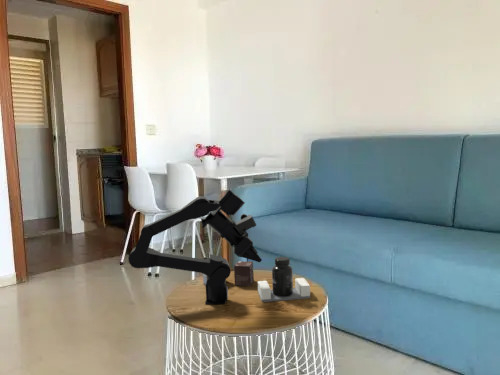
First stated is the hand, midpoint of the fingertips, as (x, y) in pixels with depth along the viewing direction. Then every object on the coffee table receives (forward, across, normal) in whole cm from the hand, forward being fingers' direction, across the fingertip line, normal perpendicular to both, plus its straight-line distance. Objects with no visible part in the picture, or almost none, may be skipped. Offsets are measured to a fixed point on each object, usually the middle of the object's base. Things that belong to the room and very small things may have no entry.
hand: (258, 257), depth 138 cm
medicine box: (0, +18, +20) cm, 27 cm away
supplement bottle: (+15, 0, +4) cm, 15 cm away
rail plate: (+15, 0, +4) cm, 16 cm away
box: (+7, +15, +12) cm, 21 cm away
